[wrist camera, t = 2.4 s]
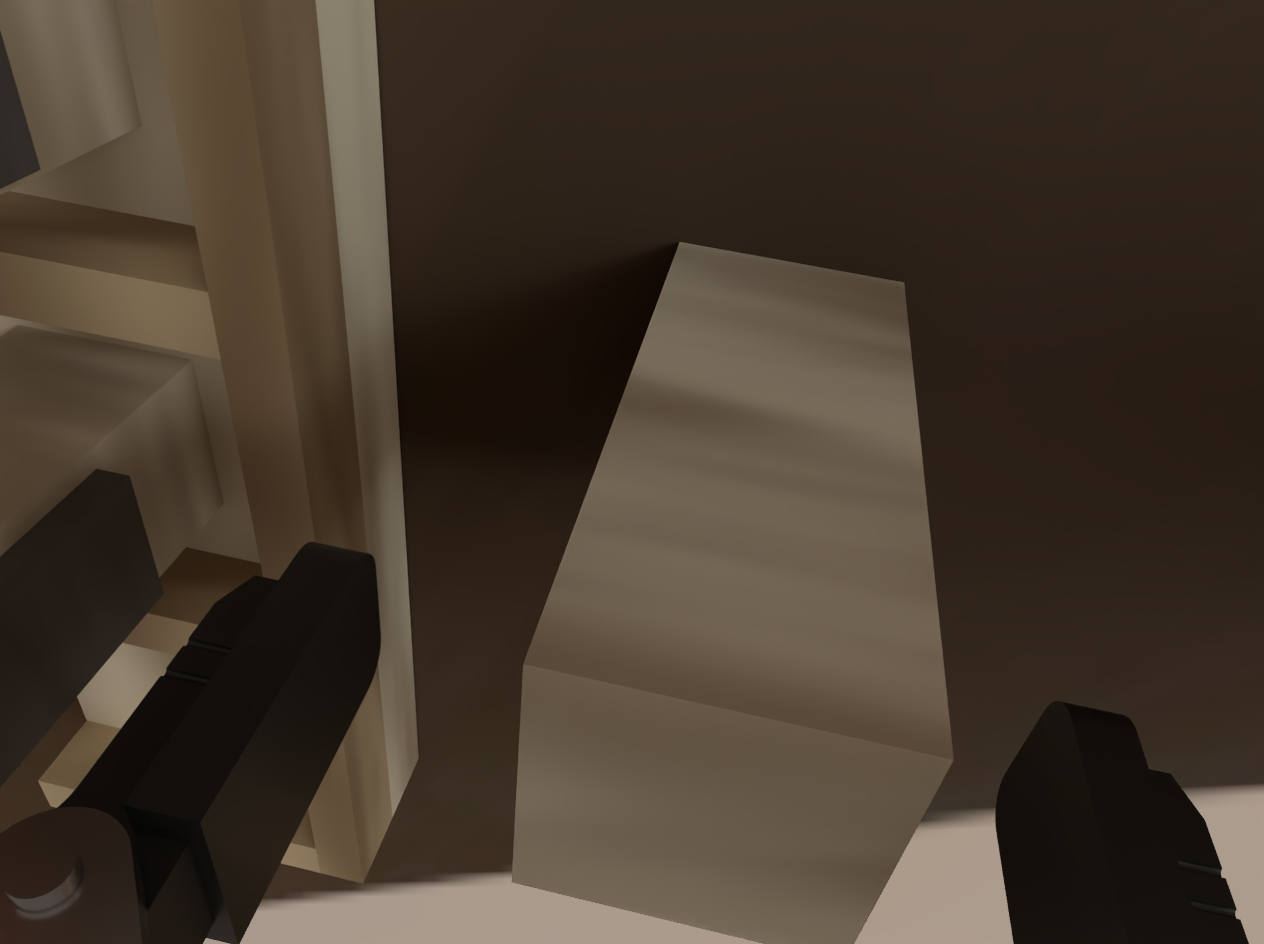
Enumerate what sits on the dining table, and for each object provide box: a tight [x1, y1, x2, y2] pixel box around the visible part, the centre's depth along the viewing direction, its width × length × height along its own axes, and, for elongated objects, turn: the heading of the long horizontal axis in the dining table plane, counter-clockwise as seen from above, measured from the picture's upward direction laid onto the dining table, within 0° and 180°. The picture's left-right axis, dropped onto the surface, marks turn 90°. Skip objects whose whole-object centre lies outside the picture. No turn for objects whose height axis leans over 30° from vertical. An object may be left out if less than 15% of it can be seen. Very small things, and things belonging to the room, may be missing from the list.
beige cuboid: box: [512, 242, 954, 944], centre depth 14 cm, size 5×4×10 cm
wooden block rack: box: [0, 0, 419, 883], centre depth 16 cm, size 9×25×12 cm, turn 174°
